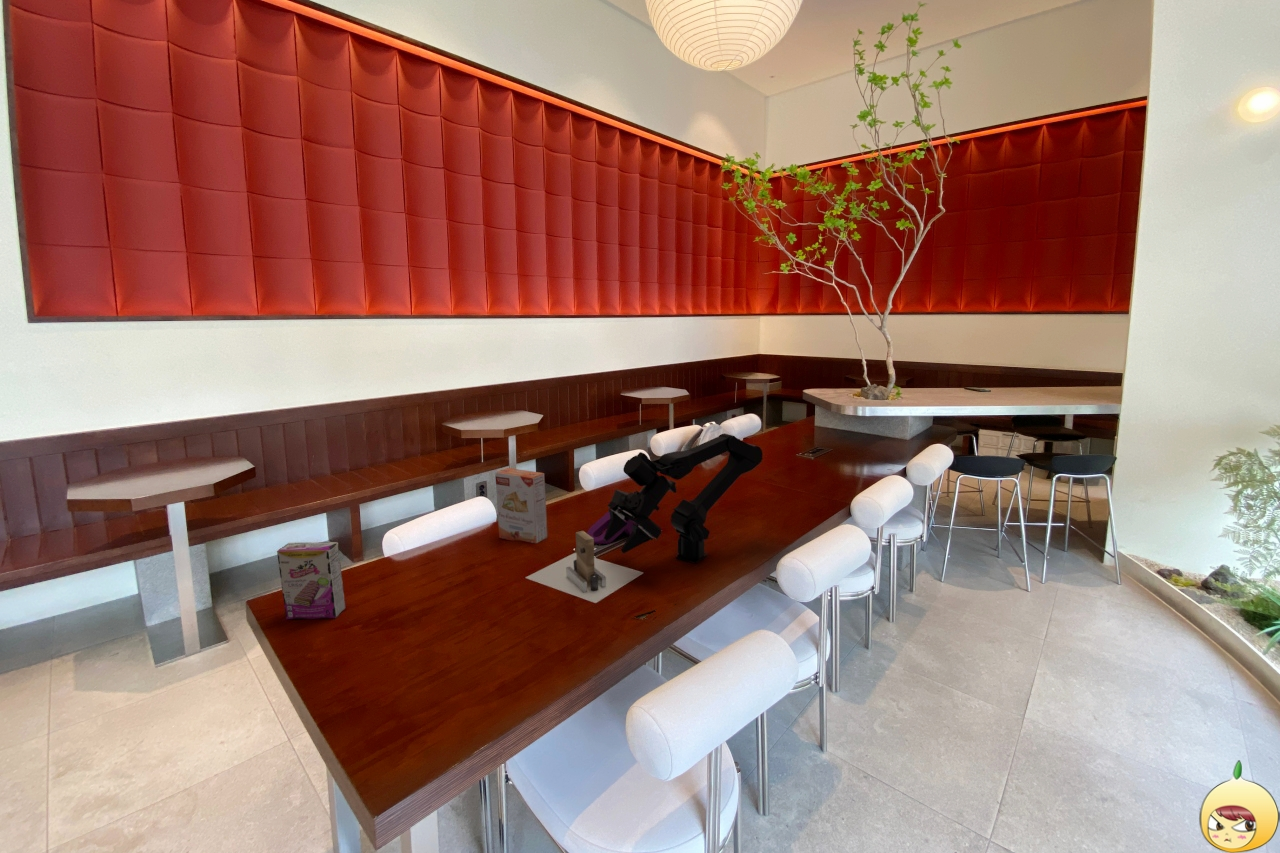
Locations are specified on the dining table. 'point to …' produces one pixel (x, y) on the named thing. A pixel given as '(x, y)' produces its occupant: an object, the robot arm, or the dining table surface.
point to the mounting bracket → (602, 526)
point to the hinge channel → (581, 583)
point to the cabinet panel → (614, 580)
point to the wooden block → (585, 556)
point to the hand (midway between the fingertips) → (613, 545)
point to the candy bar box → (311, 580)
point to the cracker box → (521, 505)
